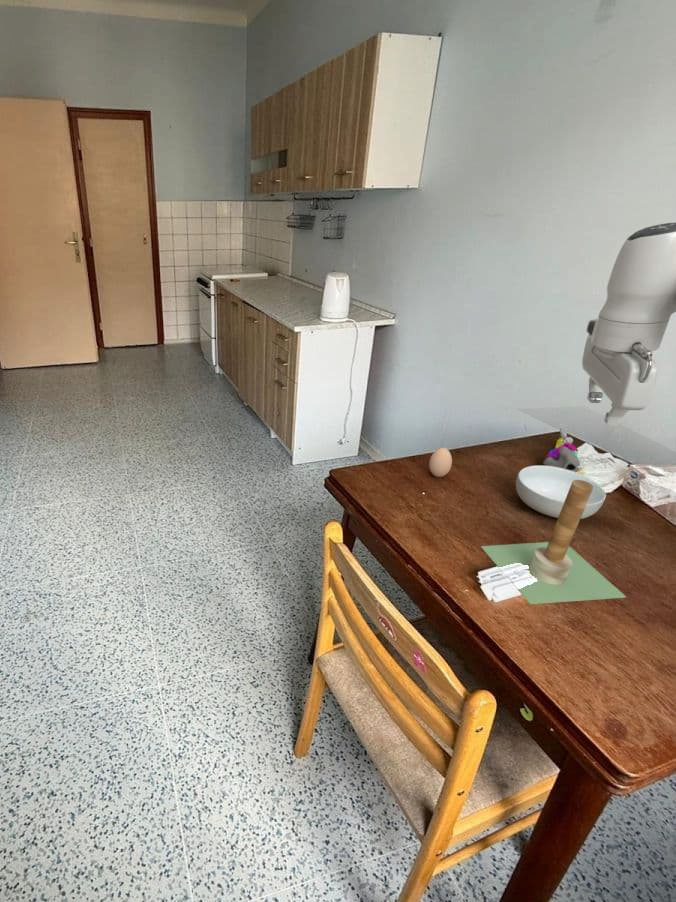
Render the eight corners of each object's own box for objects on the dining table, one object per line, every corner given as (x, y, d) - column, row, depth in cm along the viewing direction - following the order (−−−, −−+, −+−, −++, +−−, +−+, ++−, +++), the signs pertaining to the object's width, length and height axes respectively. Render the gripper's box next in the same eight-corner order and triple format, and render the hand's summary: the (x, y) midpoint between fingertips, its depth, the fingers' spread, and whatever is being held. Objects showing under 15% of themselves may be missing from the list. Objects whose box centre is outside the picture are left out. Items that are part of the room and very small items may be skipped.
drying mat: (562, 543, 98) (563, 540, 98) (625, 599, 84) (626, 597, 84) (479, 548, 97) (480, 546, 97) (529, 606, 83) (530, 603, 83)
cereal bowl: (548, 535, 101) (558, 508, 97) (494, 494, 115) (501, 469, 112) (614, 524, 104) (626, 498, 100) (553, 486, 118) (562, 461, 115)
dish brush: (551, 562, 92) (586, 474, 83) (573, 583, 87) (613, 492, 78) (521, 564, 92) (553, 476, 83) (542, 585, 87) (578, 494, 77)
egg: (435, 469, 126) (441, 441, 122) (452, 477, 122) (459, 449, 118) (422, 474, 124) (428, 446, 120) (439, 483, 120) (446, 454, 116)
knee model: (562, 460, 139) (571, 490, 119) (536, 444, 141) (541, 471, 121) (587, 436, 134) (601, 463, 114) (560, 420, 136) (569, 444, 116)
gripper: (681, 355, 67) (648, 440, 74) (627, 318, 84) (604, 391, 90) (627, 355, 69) (599, 438, 76) (585, 318, 86) (565, 390, 92)
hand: (601, 412), depth 83 cm, fingers open, 8 cm apart
